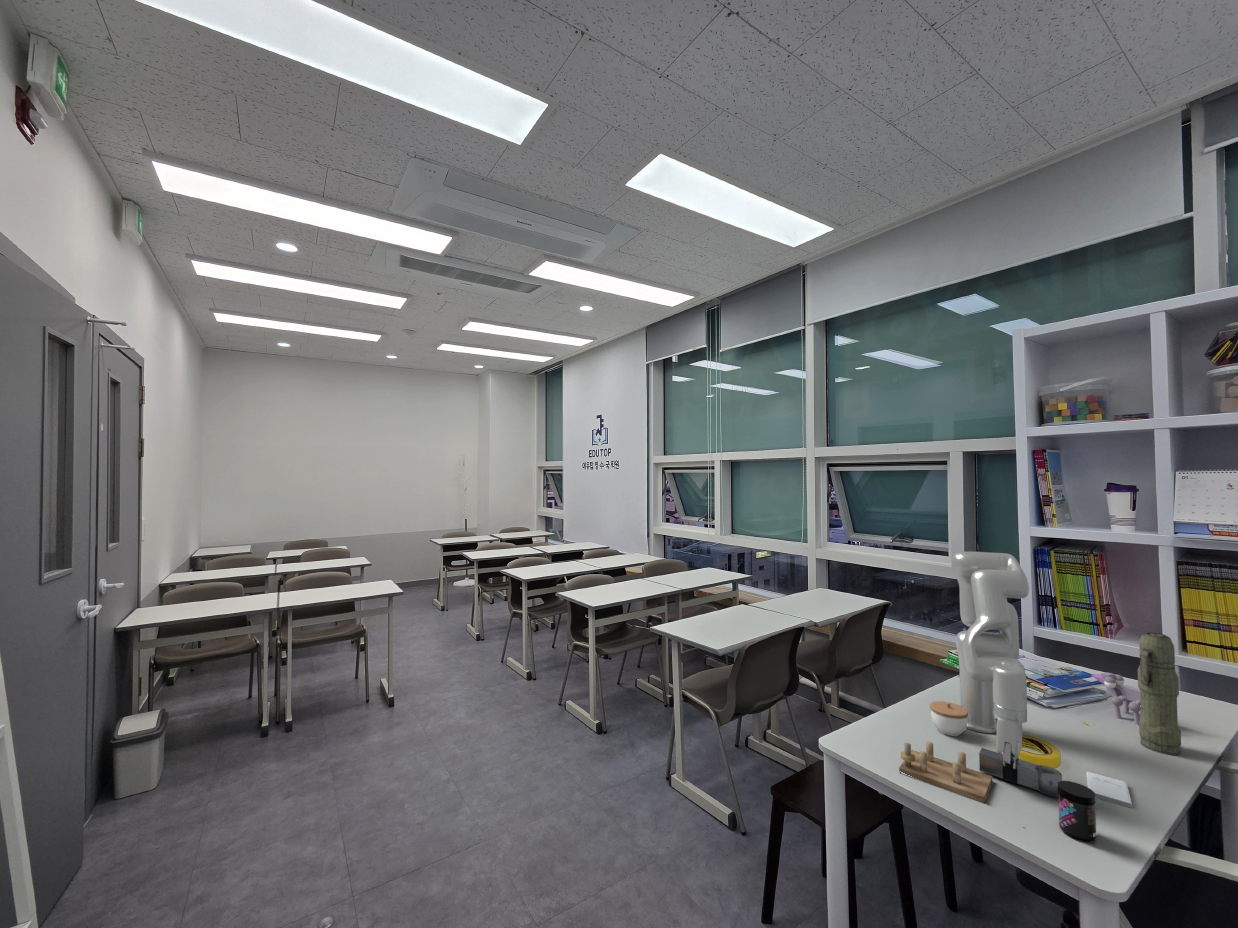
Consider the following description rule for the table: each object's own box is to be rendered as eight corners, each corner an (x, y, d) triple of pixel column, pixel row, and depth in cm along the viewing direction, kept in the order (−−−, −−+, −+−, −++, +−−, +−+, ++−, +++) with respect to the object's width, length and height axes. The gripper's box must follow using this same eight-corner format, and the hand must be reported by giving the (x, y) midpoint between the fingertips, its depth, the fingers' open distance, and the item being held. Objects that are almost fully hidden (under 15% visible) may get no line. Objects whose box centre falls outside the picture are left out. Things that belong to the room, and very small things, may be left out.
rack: (910, 754, 156) (910, 729, 156) (992, 781, 142) (991, 754, 142) (898, 772, 146) (897, 745, 147) (984, 803, 132) (983, 773, 133)
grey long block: (982, 763, 149) (982, 745, 149) (1063, 789, 137) (1062, 770, 137) (979, 771, 145) (978, 753, 145) (1061, 799, 133) (1061, 779, 133)
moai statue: (1190, 751, 157) (1186, 636, 158) (1168, 758, 153) (1164, 640, 154) (1152, 737, 165) (1148, 628, 166) (1130, 743, 161) (1126, 632, 162)
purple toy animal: (1082, 707, 187) (1082, 669, 187) (1099, 703, 191) (1099, 667, 191) (1155, 732, 168) (1155, 690, 169) (1173, 728, 172) (1172, 687, 173)
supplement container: (1061, 819, 126) (1060, 777, 126) (1098, 834, 121) (1097, 789, 121) (1056, 832, 121) (1055, 788, 122) (1094, 847, 116) (1093, 801, 116)
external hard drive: (1088, 797, 135) (1086, 776, 145) (1132, 810, 130) (1127, 787, 140) (1088, 791, 135) (1086, 770, 145) (1132, 803, 130) (1126, 781, 140)
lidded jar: (957, 724, 175) (956, 696, 175) (975, 740, 164) (975, 710, 164) (924, 723, 176) (923, 695, 176) (940, 738, 165) (940, 709, 165)
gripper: (998, 697, 151) (999, 759, 151) (988, 717, 139) (989, 785, 139) (1030, 705, 146) (1031, 769, 146) (1023, 727, 134) (1024, 797, 133)
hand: (1011, 776), depth 142 cm, fingers closed on grey long block, 4 cm apart
